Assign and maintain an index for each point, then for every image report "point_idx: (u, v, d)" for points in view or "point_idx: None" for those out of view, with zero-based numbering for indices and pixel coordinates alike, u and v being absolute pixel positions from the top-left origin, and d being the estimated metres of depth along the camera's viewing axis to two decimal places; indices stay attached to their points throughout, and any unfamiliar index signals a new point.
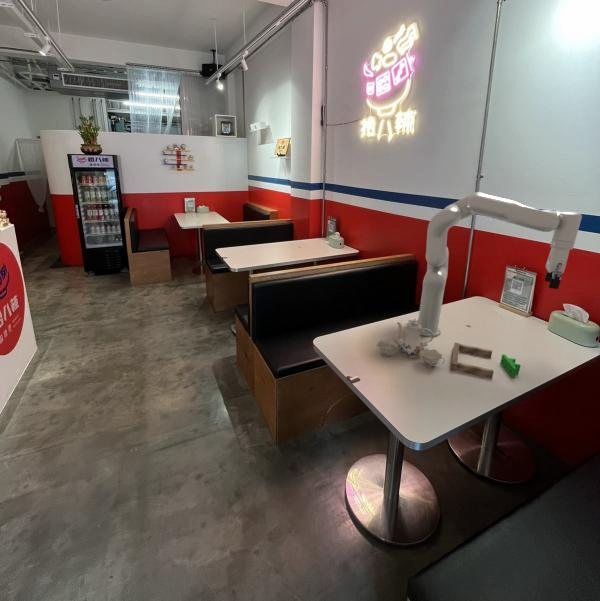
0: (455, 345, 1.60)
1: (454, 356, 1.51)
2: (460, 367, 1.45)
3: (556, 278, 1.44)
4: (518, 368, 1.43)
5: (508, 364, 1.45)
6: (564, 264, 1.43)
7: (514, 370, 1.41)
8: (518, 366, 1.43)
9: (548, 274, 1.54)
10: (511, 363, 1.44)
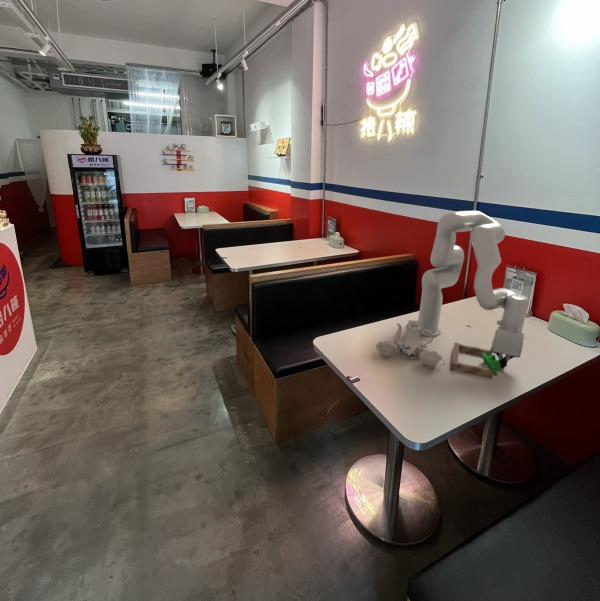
0: (455, 345, 1.60)
1: (454, 356, 1.51)
2: (460, 367, 1.45)
3: None
4: (499, 364, 1.44)
5: (488, 363, 1.46)
6: None
7: (493, 368, 1.42)
8: (497, 362, 1.44)
9: (503, 361, 1.46)
10: (490, 361, 1.45)
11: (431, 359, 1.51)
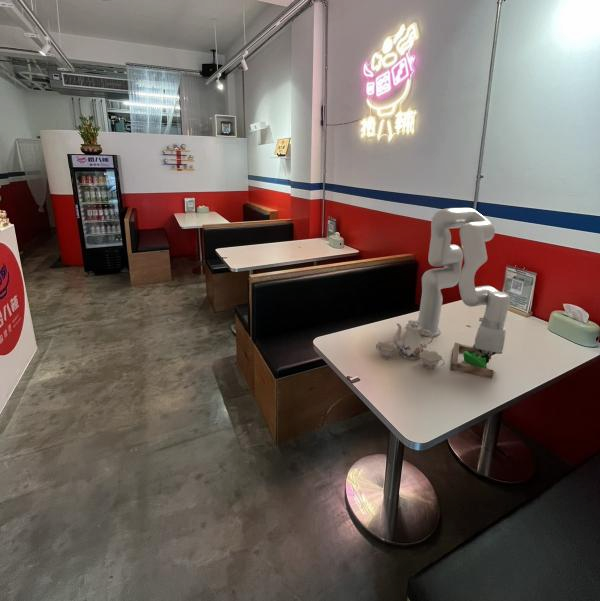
0: (455, 345, 1.60)
1: (454, 356, 1.51)
2: (460, 367, 1.45)
3: None
4: (485, 361, 1.46)
5: (475, 361, 1.47)
6: None
7: (484, 366, 1.43)
8: (484, 360, 1.46)
9: (485, 357, 1.49)
10: (477, 359, 1.46)
11: (431, 359, 1.50)
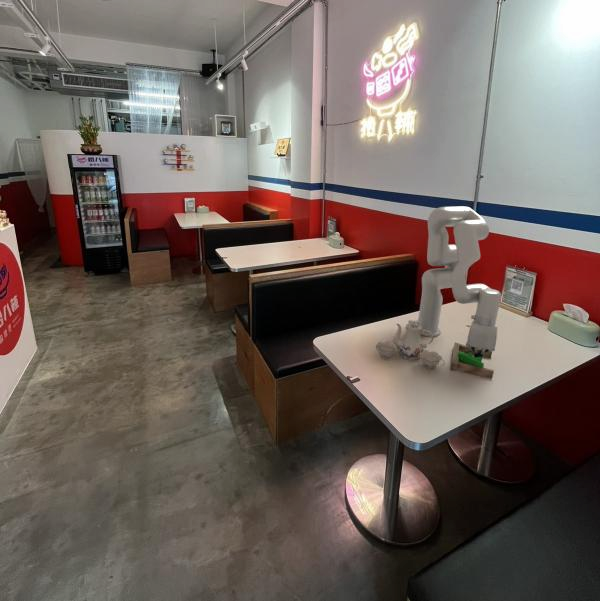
0: (455, 345, 1.60)
1: (454, 356, 1.51)
2: (460, 367, 1.45)
3: None
4: (481, 360, 1.47)
5: (471, 361, 1.46)
6: None
7: (482, 365, 1.43)
8: (480, 359, 1.46)
9: None
10: (474, 358, 1.46)
11: (431, 359, 1.50)
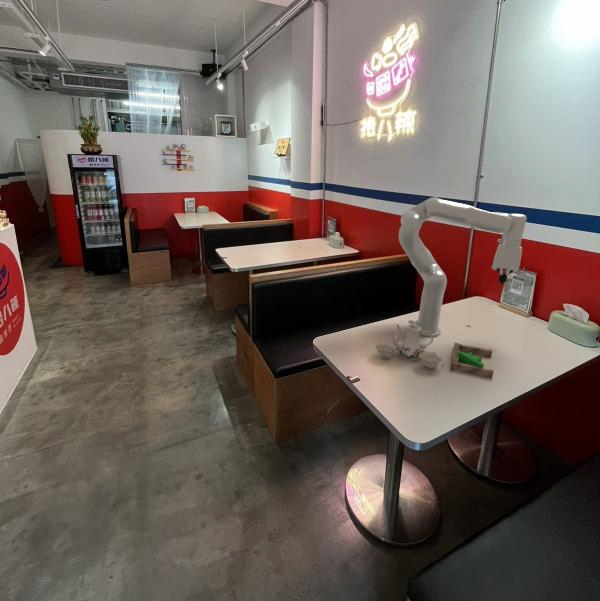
0: (455, 345, 1.60)
1: (454, 356, 1.51)
2: (460, 367, 1.45)
3: None
4: (480, 361, 1.47)
5: (471, 361, 1.46)
6: None
7: (482, 365, 1.43)
8: (480, 359, 1.46)
9: (503, 276, 1.64)
10: (474, 359, 1.46)
11: (431, 360, 1.50)
